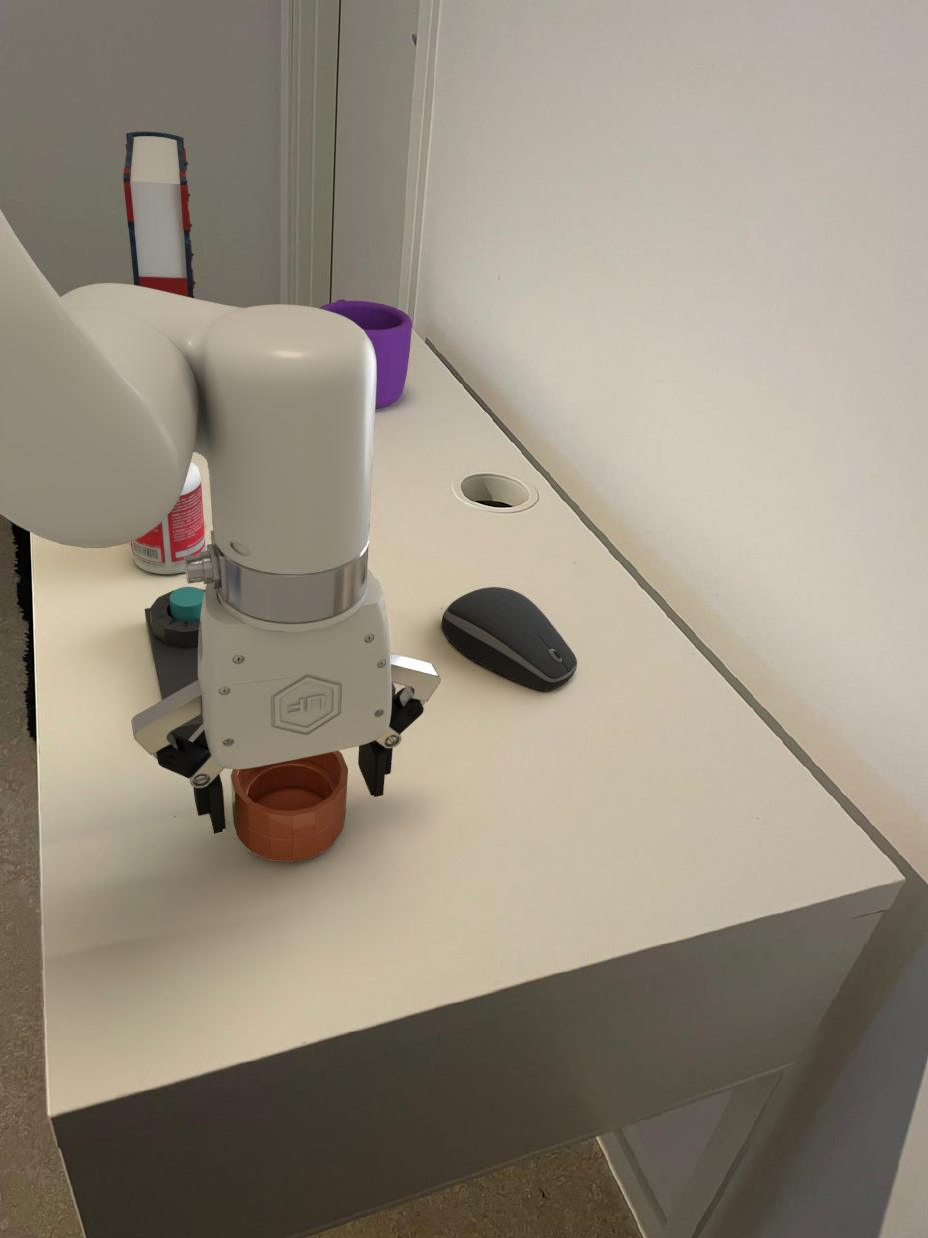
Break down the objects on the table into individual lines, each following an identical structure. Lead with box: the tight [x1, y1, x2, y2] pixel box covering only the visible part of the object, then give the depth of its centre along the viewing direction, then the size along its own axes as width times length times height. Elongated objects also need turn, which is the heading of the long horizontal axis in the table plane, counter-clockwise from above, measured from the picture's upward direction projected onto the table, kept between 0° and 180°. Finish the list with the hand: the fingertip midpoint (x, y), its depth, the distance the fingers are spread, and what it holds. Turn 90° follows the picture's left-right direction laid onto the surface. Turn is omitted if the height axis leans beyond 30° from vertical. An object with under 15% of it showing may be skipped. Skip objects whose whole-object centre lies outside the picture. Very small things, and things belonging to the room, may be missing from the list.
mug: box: [318, 298, 413, 409], centre depth 111 cm, size 17×11×10 cm, turn 24°
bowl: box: [230, 750, 349, 863], centre depth 55 cm, size 7×7×5 cm
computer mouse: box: [441, 586, 578, 691], centre depth 73 cm, size 7×12×4 cm, turn 49°
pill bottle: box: [129, 460, 207, 575], centre depth 75 cm, size 6×6×11 cm
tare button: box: [170, 586, 204, 622], centre depth 68 cm, size 3×3×2 cm
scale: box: [144, 588, 397, 740], centre depth 68 cm, size 16×14×3 cm
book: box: [122, 131, 197, 299], centre depth 102 cm, size 25×7×25 cm, turn 15°
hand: (295, 797), depth 55 cm, fingers open, 9 cm apart
